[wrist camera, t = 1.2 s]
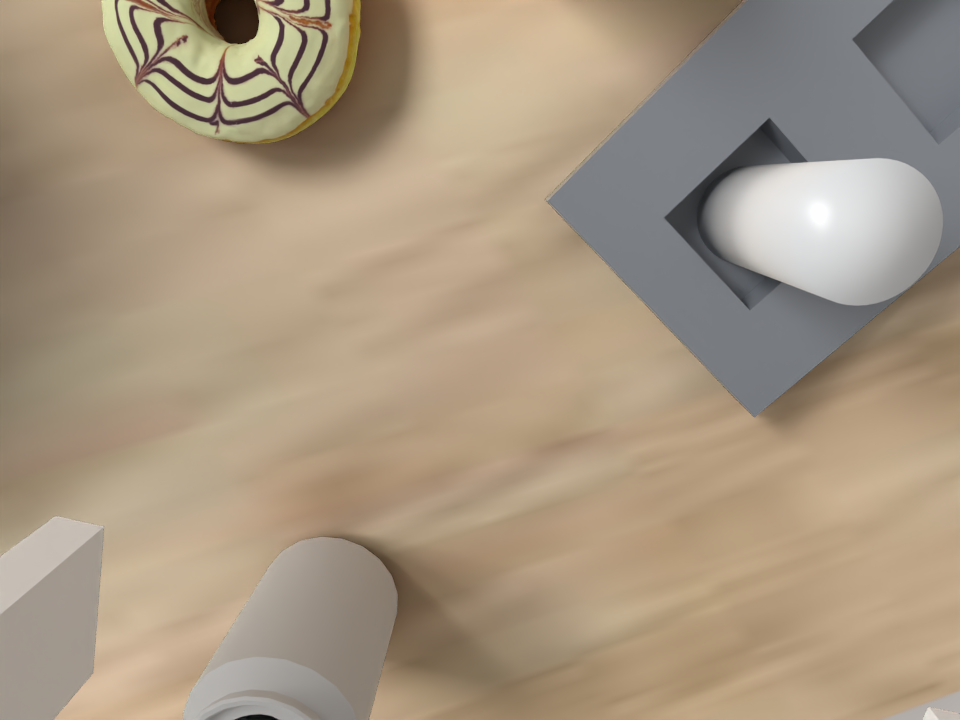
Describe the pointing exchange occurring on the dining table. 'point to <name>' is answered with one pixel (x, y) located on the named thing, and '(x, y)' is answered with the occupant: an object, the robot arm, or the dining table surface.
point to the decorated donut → (237, 63)
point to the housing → (762, 141)
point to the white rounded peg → (826, 225)
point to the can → (304, 640)
